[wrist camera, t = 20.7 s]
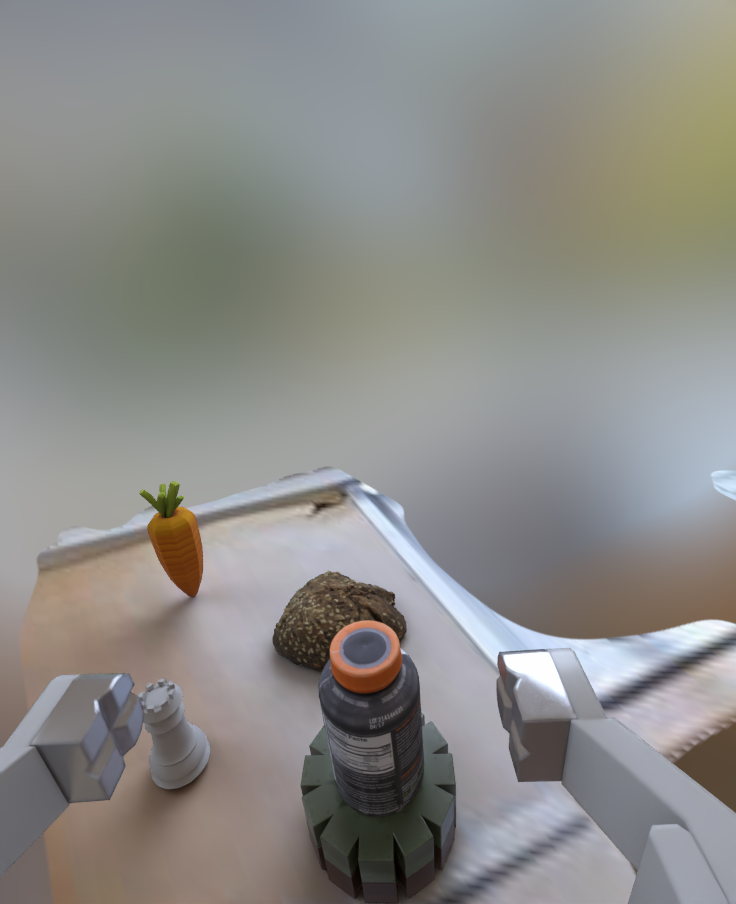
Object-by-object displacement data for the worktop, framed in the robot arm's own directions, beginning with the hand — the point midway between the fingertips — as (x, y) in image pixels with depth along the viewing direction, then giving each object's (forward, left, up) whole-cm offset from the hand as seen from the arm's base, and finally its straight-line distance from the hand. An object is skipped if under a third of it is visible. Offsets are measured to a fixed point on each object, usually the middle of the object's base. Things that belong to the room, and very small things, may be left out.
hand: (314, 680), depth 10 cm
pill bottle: (+6, +11, -23) cm, 26 cm away
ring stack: (+6, +11, -28) cm, 31 cm away
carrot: (-2, +42, -28) cm, 50 cm away
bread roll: (+11, +28, -28) cm, 41 cm away
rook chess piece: (-6, +22, -28) cm, 36 cm away
